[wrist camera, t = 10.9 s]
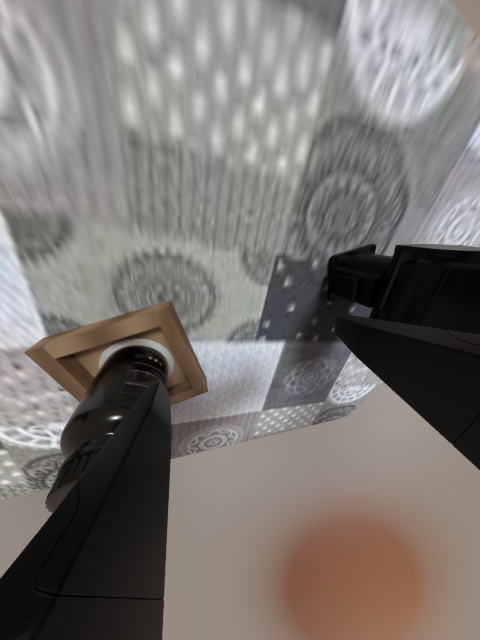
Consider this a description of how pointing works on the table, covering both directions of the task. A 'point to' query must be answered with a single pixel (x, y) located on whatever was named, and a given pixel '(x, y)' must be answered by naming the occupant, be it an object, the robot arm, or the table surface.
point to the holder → (112, 334)
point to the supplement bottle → (104, 411)
